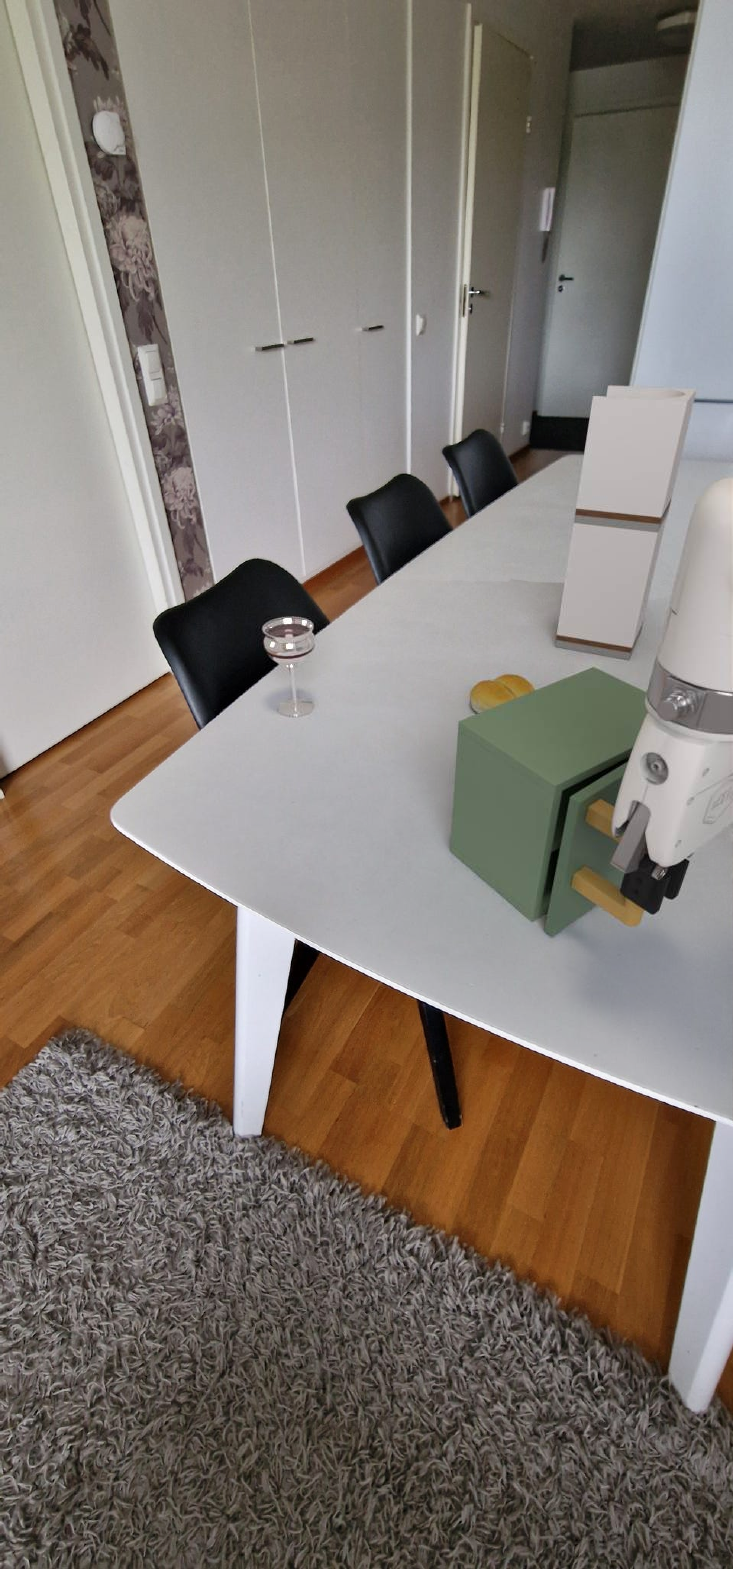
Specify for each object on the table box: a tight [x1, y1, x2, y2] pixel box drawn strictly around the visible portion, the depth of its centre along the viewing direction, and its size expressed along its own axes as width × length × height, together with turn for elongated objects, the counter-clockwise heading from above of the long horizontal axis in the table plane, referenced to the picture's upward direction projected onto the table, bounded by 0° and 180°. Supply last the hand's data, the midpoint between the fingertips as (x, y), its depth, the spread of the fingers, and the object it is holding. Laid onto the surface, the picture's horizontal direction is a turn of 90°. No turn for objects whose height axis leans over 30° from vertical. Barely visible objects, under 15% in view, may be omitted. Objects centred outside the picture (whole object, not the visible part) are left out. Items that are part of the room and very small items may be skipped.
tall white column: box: [554, 384, 697, 661], centre depth 102 cm, size 11×11×35 cm
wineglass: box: [261, 616, 316, 718], centre depth 94 cm, size 7×7×12 cm
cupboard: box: [449, 666, 649, 923], centre depth 69 cm, size 12×18×16 cm, turn 124°
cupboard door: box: [544, 762, 649, 938], centre depth 62 cm, size 7×18×16 cm, turn 128°
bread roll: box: [469, 673, 536, 714], centre depth 96 cm, size 8×9×4 cm
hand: (648, 894), depth 55 cm, fingers closed on cupboard door
